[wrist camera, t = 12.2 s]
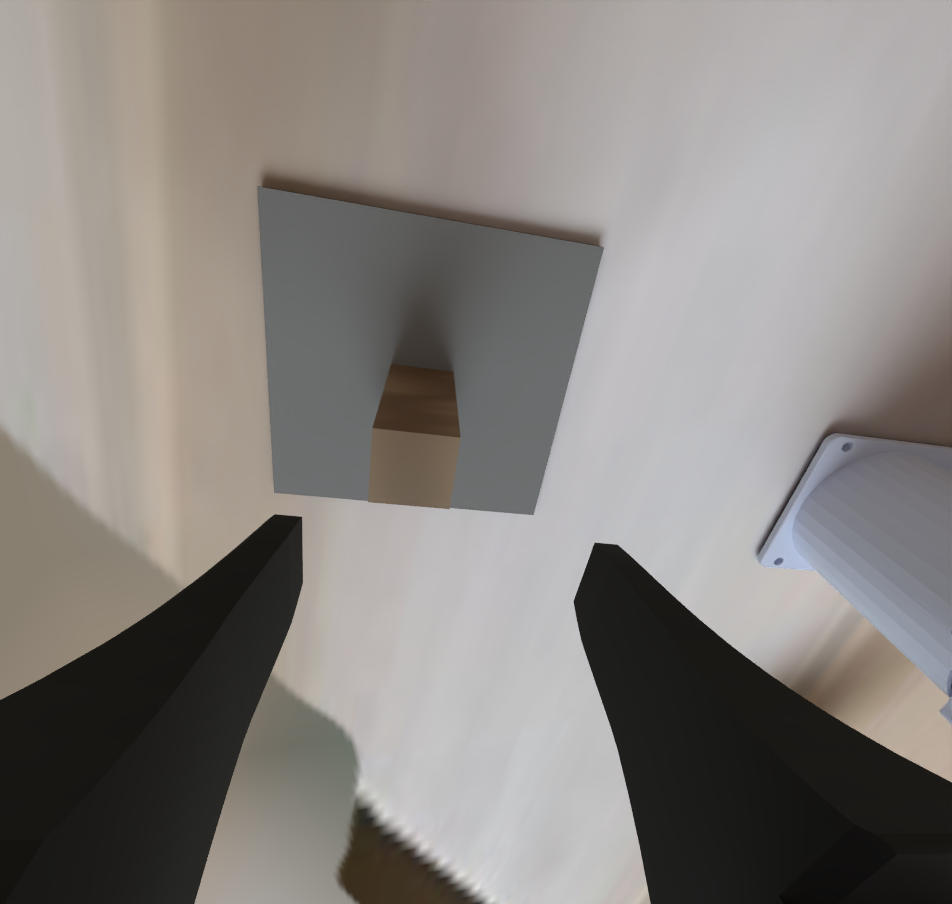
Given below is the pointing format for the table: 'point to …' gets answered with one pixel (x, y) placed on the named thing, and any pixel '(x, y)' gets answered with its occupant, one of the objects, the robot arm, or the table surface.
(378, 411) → the stick
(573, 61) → the table surface
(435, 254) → the mat
